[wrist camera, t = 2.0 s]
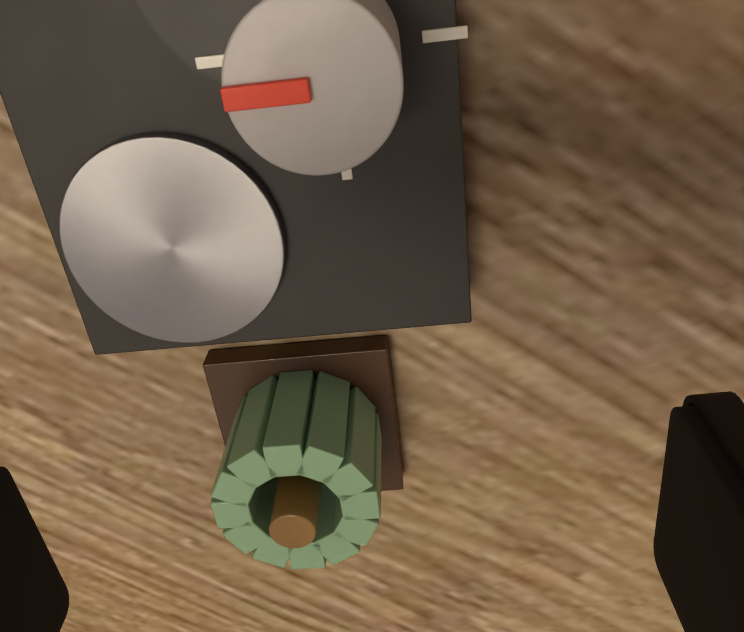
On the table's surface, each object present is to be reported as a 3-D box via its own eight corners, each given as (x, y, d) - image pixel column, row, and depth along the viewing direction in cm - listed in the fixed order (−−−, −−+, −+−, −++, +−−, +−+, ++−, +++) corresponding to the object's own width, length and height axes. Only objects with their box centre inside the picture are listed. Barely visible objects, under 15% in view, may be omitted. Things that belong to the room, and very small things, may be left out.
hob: (451, -126, 22) (460, -132, 20) (471, 286, 30) (480, 324, 27) (-8, -66, 23) (-61, -63, 21) (119, 318, 31) (93, 357, 28)
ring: (372, 364, 30) (369, 439, 26) (387, 479, 33) (387, 564, 29) (221, 377, 31) (194, 452, 26) (251, 489, 34) (231, 573, 30)
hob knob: (393, -40, 21) (394, -23, 15) (406, 110, 23) (411, 170, 18) (247, -21, 21) (198, 1, 16) (273, 124, 23) (238, 188, 18)
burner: (264, 119, 23) (261, 124, 23) (302, 326, 27) (300, 334, 27) (32, 144, 24) (25, 149, 23) (103, 343, 28) (97, 352, 27)
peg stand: (386, 334, 31) (386, 442, 25) (403, 472, 35) (406, 596, 28) (208, 350, 31) (163, 459, 25) (244, 483, 35) (212, 608, 29)
